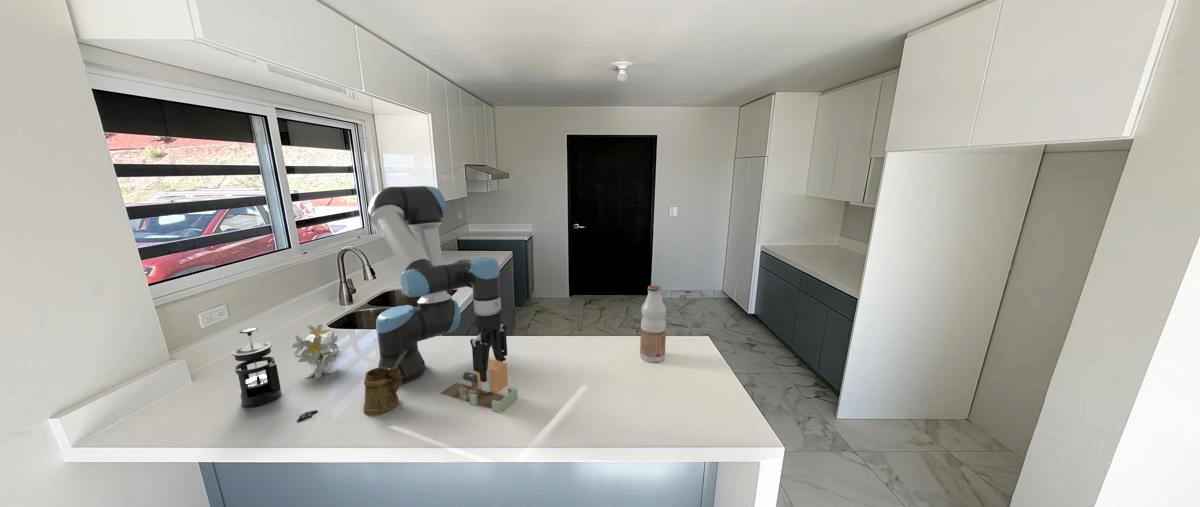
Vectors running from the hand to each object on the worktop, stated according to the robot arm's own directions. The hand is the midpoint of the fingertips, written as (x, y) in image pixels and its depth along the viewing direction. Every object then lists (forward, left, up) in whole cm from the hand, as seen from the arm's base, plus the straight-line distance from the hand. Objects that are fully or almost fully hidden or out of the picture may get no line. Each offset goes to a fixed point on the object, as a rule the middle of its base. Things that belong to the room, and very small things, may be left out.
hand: (492, 385), depth 113 cm
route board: (-6, 0, -6) cm, 9 cm away
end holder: (0, 0, -5) cm, 5 cm away
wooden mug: (-28, -13, -6) cm, 32 cm away
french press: (-67, -26, -6) cm, 72 cm away
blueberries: (-45, -27, -7) cm, 53 cm away
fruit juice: (+36, +49, -6) cm, 61 cm away
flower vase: (-75, -5, -6) cm, 76 cm away
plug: (-3, 0, 0) cm, 3 cm away
